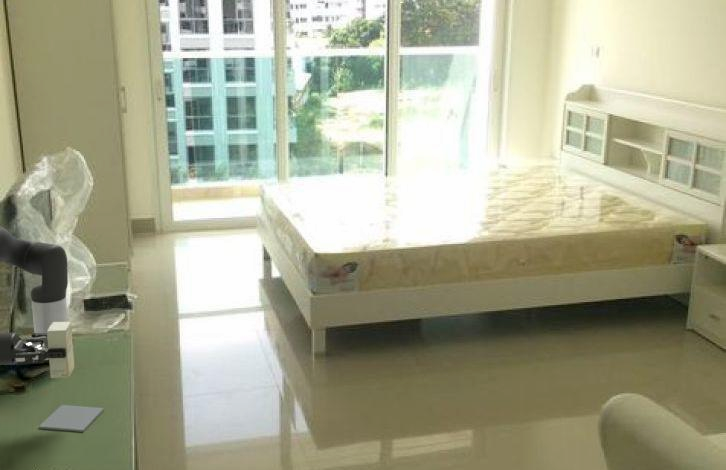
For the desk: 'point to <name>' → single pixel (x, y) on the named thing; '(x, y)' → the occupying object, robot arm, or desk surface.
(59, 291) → the robot arm
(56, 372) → the skincare box
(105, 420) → the desk surface
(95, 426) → the desk surface
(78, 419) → the grey flat square slab
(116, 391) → the desk surface
